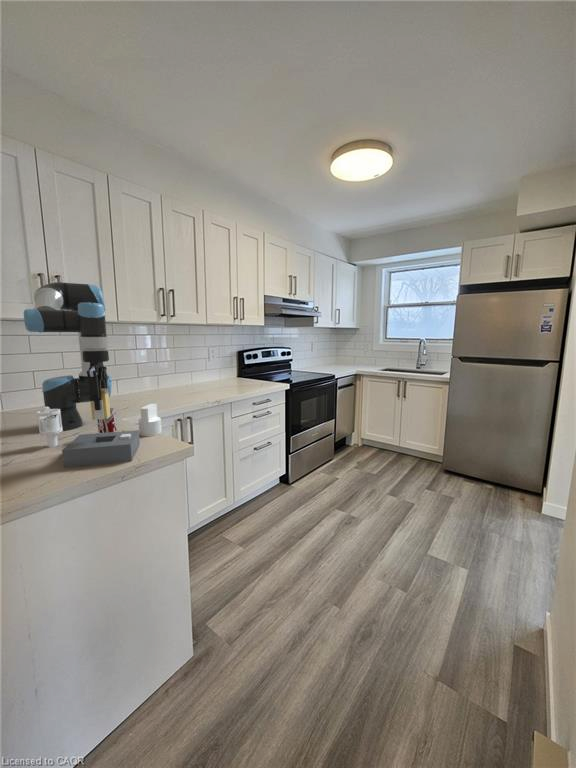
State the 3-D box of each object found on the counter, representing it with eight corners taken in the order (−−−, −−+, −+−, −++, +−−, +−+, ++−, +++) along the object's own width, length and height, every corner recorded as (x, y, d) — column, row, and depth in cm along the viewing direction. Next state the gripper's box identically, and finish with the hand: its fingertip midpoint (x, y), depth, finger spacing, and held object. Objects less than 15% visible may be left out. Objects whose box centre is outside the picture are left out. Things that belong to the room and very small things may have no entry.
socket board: (81, 450, 116) (79, 432, 115) (139, 444, 121) (138, 428, 120) (64, 467, 101) (61, 447, 100) (131, 460, 106) (130, 441, 105)
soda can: (100, 436, 131) (97, 408, 130) (118, 434, 134) (116, 407, 132) (98, 441, 125) (95, 412, 123) (116, 438, 128) (114, 410, 126)
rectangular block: (96, 416, 110) (93, 388, 109) (110, 415, 111) (108, 388, 110) (92, 419, 106) (89, 391, 104) (107, 418, 107) (104, 390, 105)
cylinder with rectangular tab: (145, 429, 141) (143, 403, 139) (165, 429, 140) (163, 403, 138) (135, 436, 132) (133, 408, 130) (156, 436, 132) (154, 408, 130)
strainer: (61, 441, 125) (56, 405, 122) (66, 445, 120) (62, 407, 118) (39, 446, 120) (34, 408, 117) (44, 450, 115) (39, 411, 113)
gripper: (91, 348, 112) (97, 411, 116) (72, 351, 95) (80, 424, 99) (114, 348, 114) (119, 410, 118) (100, 351, 98) (107, 422, 101)
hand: (101, 416), depth 109 cm, fingers closed on rectangular block, 4 cm apart
